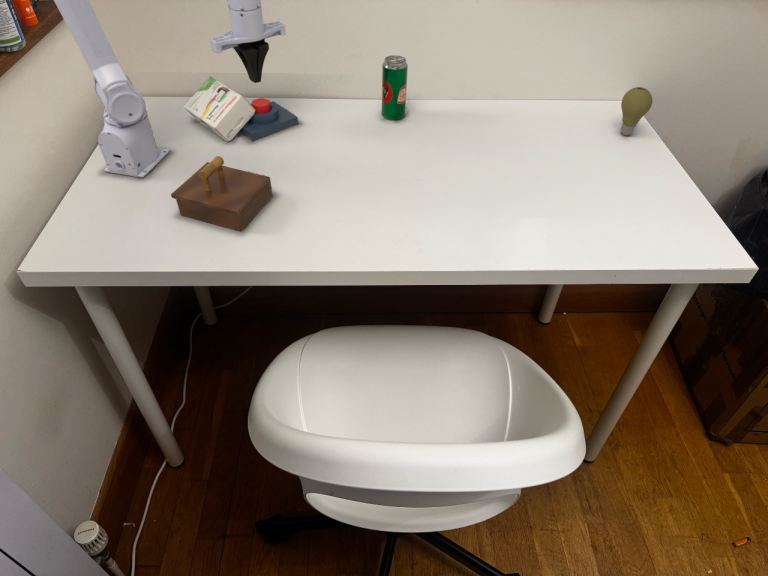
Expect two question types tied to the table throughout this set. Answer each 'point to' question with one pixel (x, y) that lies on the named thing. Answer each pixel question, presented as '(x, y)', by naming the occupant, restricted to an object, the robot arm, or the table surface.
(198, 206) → the chest
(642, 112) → the light bulb
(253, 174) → the chest lid
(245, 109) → the ink box
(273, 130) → the box
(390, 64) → the soda can
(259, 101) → the button
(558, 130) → the table surface
